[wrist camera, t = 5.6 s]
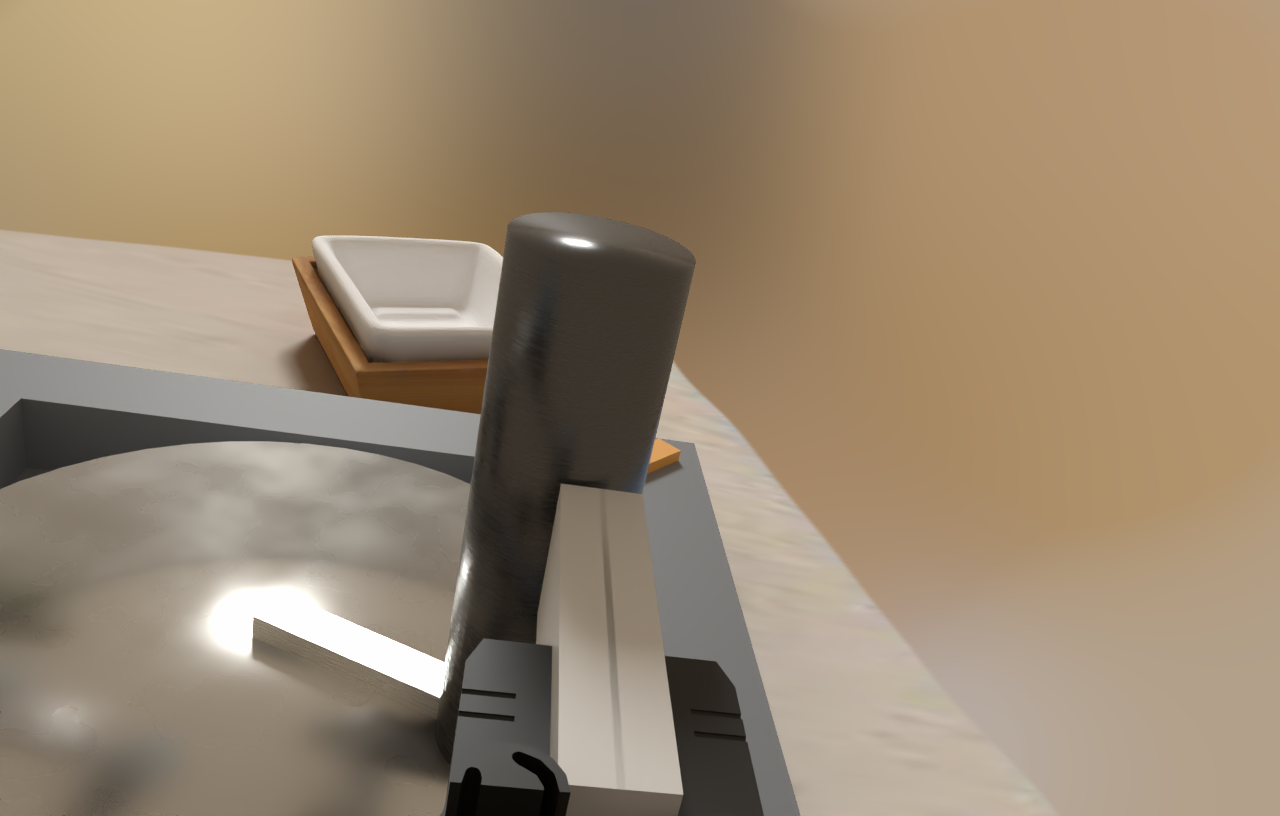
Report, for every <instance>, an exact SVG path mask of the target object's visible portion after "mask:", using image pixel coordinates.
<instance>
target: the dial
mask: <svg viewBox="0 0 1280 816" xmlns="http://www.w3.org/2000/svg"><path fill="white" fill-rule="evenodd" d="M695 263H696V262H695V258H694V256H693V255H692V253H691V252H690V251H689V250H688V249H686V248H685V247H684V246H682V245H681V244H679V243H678V242H676V241H674V240H672V239H669V238H668V237H666V236H664V235H661V234H659V233H656V232H654V231H651V230H648V229H645V228H642V227H639V226H636V225H632V224H629V223H625V222H620V221H617V220H612V219H607V218H602V217H596V216H590V215H582V214H572V213H552V212H550V213H534V214H528V215H523V216H519V217H517V218H515V219H513V220H512V221H510V223H509V225H508V228H507V236H506V242H505V249H504V256H503V263H502V270H501V277H500V284H499V291H498V298H497V305H496V312H495V318H494V325H493V332H492V339H491V346H490V353H489V360H488V367H487V374H486V381H485V388H484V395H483V402H482V409H481V416H480V423H479V429H478V436H477V443H476V450H475V457H474V464H473V471H472V478H471V484H469V483H467V482H464V481H462V480H460V479H457V478H455V477H453V476H450V475H448V474H445V473H442V472H439V471H436V470H433V469H430V468H427V467H424V466H421V465H418V464H415V463H411V462H407V461H403V460H399V459H395V458H391V457H387V456H383V455H379V454H374V453H368V452H363V451H358V450H352V449H347V448H340V447H331V446H323V445H315V444H305V443H288V442H271V441H227V442H211V443H195V444H183V445H175V446H167V447H159V448H151V449H144V450H138V451H133V452H128V453H122V454H117V455H111V456H106V457H102V458H98V459H94V460H90V461H86V462H82V463H78V464H74V465H70V466H66V467H62V468H59V469H56V470H53V471H50V472H47V473H43V474H40V475H37V476H34V477H31V478H28V479H25V480H22V481H19V482H17V483H14V484H12V485H9V486H7V487H4V488H2V489H0V816H440V814H441V813H442V811H443V809H444V805H445V802H446V795H447V787H448V780H449V773H450V766H451V758H452V751H453V744H454V737H455V730H456V723H457V717H458V710H459V703H460V696H461V689H462V683H463V676H464V669H465V662H466V660H467V659H468V657H469V656H470V655H471V654H472V652H473V651H474V650H475V649H476V647H477V646H478V645H479V643H480V642H481V641H482V640H483V638H485V639H494V640H503V641H512V642H521V643H530V644H536V635H537V613H538V607H539V602H540V596H541V591H542V585H543V580H544V574H545V569H546V563H547V558H548V552H549V547H550V541H551V536H552V530H553V524H554V519H555V513H556V508H557V502H558V497H559V491H560V486H561V484H569V485H576V486H584V487H591V488H599V489H607V490H614V491H622V492H629V493H637V494H642V493H643V489H644V485H645V480H646V476H647V472H648V467H649V463H650V459H651V454H652V450H653V446H654V441H655V437H656V433H657V428H658V424H659V420H660V415H661V411H662V407H663V402H664V398H665V394H666V389H667V385H668V380H669V376H670V372H671V367H672V363H673V359H674V354H675V350H676V346H677V341H678V337H679V333H680V328H681V324H682V320H683V315H684V311H685V307H686V302H687V298H688V294H689V289H690V285H691V280H692V276H693V272H694V267H695Z"/></svg>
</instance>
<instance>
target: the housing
mask: <svg viewBox="0 0 1280 816" xmlns="http://www.w3.org/2000/svg"><path fill="white" fill-rule="evenodd" d="M480 416H481V414H474V413H466V412H459V411H452V410H444V409H437V408H429V407H422V406H415V405H407V404H400V403H393V402H385V401H378V400H371V399H363V398H356V397H348V396H341V395H334V394H326V393H319V392H312V391H304V390H297V389H290V388H282V387H275V386H267V385H260V384H253V383H245V382H238V381H231V380H223V379H216V378H208V377H201V376H194V375H186V374H179V373H172V372H164V371H157V370H150V369H142V368H135V367H127V366H120V365H113V364H105V363H98V362H91V361H83V360H76V359H69V358H61V357H54V356H46V355H39V354H32V353H24V352H17V351H10V350H2V349H0V489H2V488H4V487H7V486H9V485H12V484H14V483H17V482H19V481H22V480H25V479H28V478H31V477H34V476H37V475H40V474H43V473H47V472H50V471H53V470H56V469H59V468H62V467H66V466H70V465H74V464H78V463H82V462H86V461H90V460H94V459H98V458H102V457H106V456H111V455H117V454H122V453H128V452H133V451H138V450H144V449H151V448H159V447H167V446H175V445H183V444H195V443H211V442H227V441H271V442H288V443H305V444H315V445H323V446H331V447H340V448H347V449H352V450H358V451H363V452H368V453H374V454H379V455H383V456H387V457H391V458H395V459H399V460H403V461H407V462H411V463H415V464H418V465H421V466H424V467H427V468H430V469H433V470H436V471H439V472H442V473H445V474H448V475H450V476H453V477H455V478H457V479H460V480H462V481H464V482H467V483H469V484H471V478H472V471H473V464H474V457H475V450H476V443H477V436H478V429H479V423H480ZM642 494H643V501H644V508H645V516H646V523H647V530H648V538H649V545H650V552H651V560H652V567H653V574H654V582H655V589H656V597H657V604H658V611H659V619H660V626H661V633H662V641H663V648H664V655H665V656H672V657H681V658H690V659H699V660H708V661H716V662H717V663H718V664H719V666H720V667H721V668H722V670H723V671H724V672H725V674H726V675H727V676H728V678H729V679H730V681H731V682H732V683H733V685H734V686H735V688H736V693H737V697H738V702H739V706H740V711H741V719H742V720H743V724H744V729H745V733H746V742H748V747H749V751H750V755H751V760H752V764H753V769H754V773H755V778H756V782H757V787H758V791H759V796H760V800H761V805H762V809H763V814H764V816H800V813H799V809H798V806H797V802H796V799H795V795H794V792H793V788H792V785H791V781H790V778H789V774H788V771H787V767H786V764H785V760H784V757H783V753H782V750H781V746H780V743H779V739H778V736H777V732H776V729H775V725H774V722H773V718H772V715H771V711H770V708H769V704H768V701H767V697H766V694H765V690H764V687H763V683H762V680H761V676H760V673H759V669H758V666H757V662H756V659H755V655H754V651H753V648H752V644H751V641H750V637H749V634H748V630H747V627H746V623H745V620H744V616H743V613H742V609H741V606H740V602H739V599H738V595H737V592H736V588H735V585H734V581H733V578H732V574H731V571H730V567H729V564H728V560H727V557H726V553H725V550H724V546H723V543H722V539H721V536H720V532H719V529H718V525H717V522H716V518H715V515H714V511H713V508H712V504H711V501H710V497H709V494H708V490H707V487H706V483H705V480H704V476H703V473H702V469H701V466H700V462H699V459H698V455H697V452H696V448H695V445H694V443H687V442H680V441H673V440H665V439H659V438H655V441H654V446H653V450H652V454H651V459H650V463H649V467H648V472H647V476H646V480H645V485H644V489H643V493H642Z"/></svg>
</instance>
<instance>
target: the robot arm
mask: <svg viewBox="0 0 1280 816" xmlns="http://www.w3.org/2000/svg"><path fill="white" fill-rule="evenodd" d="M440 816H764V814H763V809H762V805H761V800H760V796H759V791H758V787H757V782H756V778H755V773H754V769H753V764H752V760H751V755H750V751H749V747H748V742H746V733H745V729H744V724H743V720H742V719H741V711H740V706H739V702H738V697H737V693H736V688H735V686H734V685H733V683H732V682H731V681H730V679H729V678H728V676H727V675H726V674H725V672H724V671H723V670H722V668H721V667H720V666H719V664H718V663H717V662H716V661H708V660H699V659H690V658H681V657H672V656H665V655H664V648H663V641H662V633H661V626H660V619H659V611H658V604H657V597H656V589H655V582H654V574H653V567H652V560H651V552H650V545H649V538H648V530H647V523H646V516H645V508H644V501H643V494H637V493H629V492H622V491H614V490H607V489H599V488H591V487H584V486H576V485H569V484H561V486H560V491H559V497H558V502H557V508H556V513H555V519H554V524H553V530H552V536H551V541H550V547H549V552H548V558H547V563H546V569H545V574H544V580H543V585H542V591H541V596H540V602H539V607H538V613H537V635H536V644H530V643H521V642H512V641H503V640H494V639H485V638H483V640H482V641H481V642H480V643H479V645H478V646H477V647H476V649H475V650H474V651H473V652H472V654H471V655H470V656H469V657H468V659H467V660H466V662H465V669H464V676H463V683H462V689H461V696H460V703H459V710H458V717H457V723H456V730H455V737H454V744H453V751H452V758H451V766H450V773H449V780H448V787H447V795H446V802H445V805H444V809H443V811H442V813H441V814H440Z"/></svg>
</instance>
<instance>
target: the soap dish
mask: <svg viewBox="0 0 1280 816" xmlns="http://www.w3.org/2000/svg"><path fill="white" fill-rule="evenodd" d="M312 248H313V253H314V257H294V258H292V262H293V266H294V269H295V272H296V276H297V279H298V282H299V285H300V288H301V292H302V295H303V298H304V301H305V304H306V308H307V311H308V314H309V317H310V320H311V323H312V326H313V329H314V331H315V334H316V338H317V339H319V341H320V343H321V345H322V347H323V349H324V351H325V353H326V355H327V357H328V359H329V361H330V362H331V364H332V366H333V368H334V370H335V372H336V374H337V376H338V378H339V380H340V381H341V383H342V385H343V387H344V389H345V391H346V393H347V395H348V397H356V398H363V399H371V400H378V401H385V402H393V403H400V404H407V405H415V406H422V407H429V408H437V409H444V410H452V411H459V412H466V413H474V414H481V409H482V402H483V395H484V388H485V381H486V374H487V367H488V360H489V353H490V346H491V339H492V332H493V325H494V318H495V312H496V305H497V298H498V291H499V284H500V277H501V270H502V263H503V257H502V256H501V255H500V254H499V253H498V252H496V251H495V250H494V249H492V248H491V247H489V246H487V245H485V244H481V243H475V242H466V241H451V240H436V239H434V240H433V239H417V238H396V237H374V236H319V237H316V238H314V239H313V242H312Z"/></svg>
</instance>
